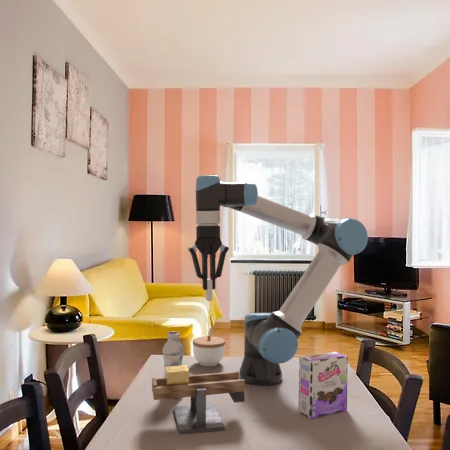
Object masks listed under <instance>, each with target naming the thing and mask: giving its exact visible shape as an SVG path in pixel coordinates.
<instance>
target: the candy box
mask: <svg viewBox="0 0 450 450" xmlns="http://www.w3.org/2000/svg"><path fill="white" fill-rule="evenodd" d="M348 358H349V357H348V355H347V354H343V353H340V352H338V351H331V352H325V353H319V354H317V353H316V354H312V355H311V354H310V355H305V356H303V355H302V356H299V373H298V376H299V377H298V380H299V381H298V412H299V413H301V414H302V415H304V416H305V417H307V418H309V420H311V419H315V418H318V417H323V416H327V415H328V416H329V415H333V414H337V413H342V412H346V411H347V410H348V366H349V365H348V363H349V362H348Z"/></svg>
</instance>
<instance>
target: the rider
mask: <svg viewBox="0 0 450 450" xmlns="http://www.w3.org/2000/svg"><path fill="white" fill-rule="evenodd" d="M164 373H165V384H166V386H173V385H184V384H189V375H190V370H189V368H188V365H186V364H185V365H183V364H182V366H169V367H165V366H164Z"/></svg>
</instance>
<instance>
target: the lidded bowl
mask: <svg viewBox="0 0 450 450" xmlns="http://www.w3.org/2000/svg"><path fill="white" fill-rule="evenodd" d="M225 345H226V339H224V338H222V337H219V336H212V335H210V334H207V335H206V336H199V337H195V338H194V339H192V351H193V352H192V353H193V355H194V358H195V360H196V361H197V362H198V363H199V366H201V367H216V366H218V365H219V363H220V362H221V361H222V359H223V358H224V355H225V351H226V347H225Z"/></svg>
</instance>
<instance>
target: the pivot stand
mask: <svg viewBox="0 0 450 450" xmlns="http://www.w3.org/2000/svg"><path fill="white" fill-rule="evenodd" d="M172 408H173V409H172V410H173V414H174V418H175V421H176V426H177V429H178V433H179V435H188V434H197V433H210V432H211V433H212V432H222V431H225V430H226V427H225V424H224V422H223V421H222V418H221V416H220V414H219V412H218V409H217V408H216V406H215V404H214V403H207V395H206V389H205V388H203V389H197V396H192V397H190V404H188V405H179V406H178V405H174V406H173V407H172Z"/></svg>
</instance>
